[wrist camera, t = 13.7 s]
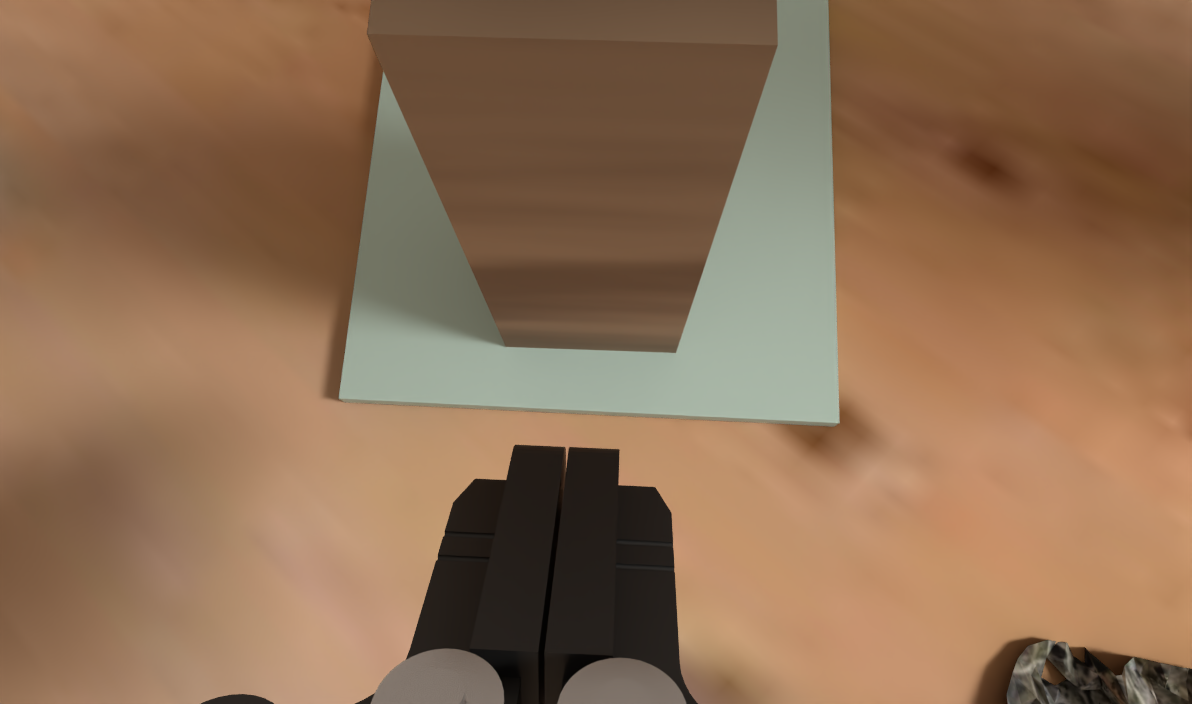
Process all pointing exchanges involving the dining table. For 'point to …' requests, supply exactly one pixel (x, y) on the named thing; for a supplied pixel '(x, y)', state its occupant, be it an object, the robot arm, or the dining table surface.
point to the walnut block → (580, 149)
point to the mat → (623, 378)
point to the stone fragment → (1095, 680)
